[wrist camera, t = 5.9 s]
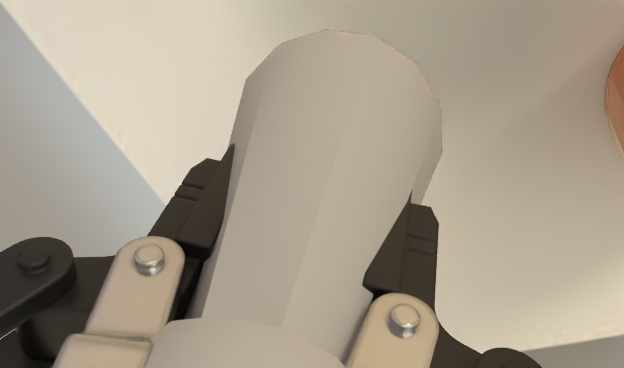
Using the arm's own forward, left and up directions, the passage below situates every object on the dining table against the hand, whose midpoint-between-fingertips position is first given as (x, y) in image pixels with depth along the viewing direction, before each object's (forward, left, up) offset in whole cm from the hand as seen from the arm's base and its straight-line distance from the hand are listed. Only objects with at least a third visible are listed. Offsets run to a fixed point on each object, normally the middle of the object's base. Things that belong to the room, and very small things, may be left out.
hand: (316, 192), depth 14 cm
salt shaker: (0, 0, -5) cm, 5 cm away
